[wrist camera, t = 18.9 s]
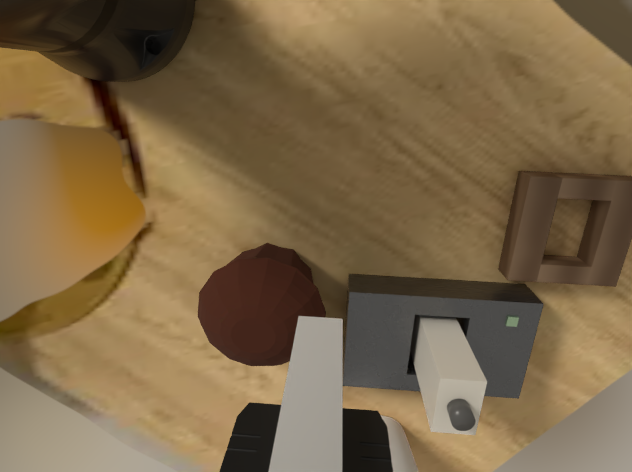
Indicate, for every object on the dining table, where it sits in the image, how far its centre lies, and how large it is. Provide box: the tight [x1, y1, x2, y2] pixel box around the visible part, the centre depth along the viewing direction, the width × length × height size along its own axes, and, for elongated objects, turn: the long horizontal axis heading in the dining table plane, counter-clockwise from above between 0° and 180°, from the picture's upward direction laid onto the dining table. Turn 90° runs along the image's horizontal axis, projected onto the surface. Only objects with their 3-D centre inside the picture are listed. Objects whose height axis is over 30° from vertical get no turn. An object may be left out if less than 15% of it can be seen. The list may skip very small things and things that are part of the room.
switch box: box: [343, 274, 543, 398], centre depth 41 cm, size 18×11×4 cm, turn 88°
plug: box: [410, 315, 487, 435], centre depth 37 cm, size 4×5×14 cm, turn 178°
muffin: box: [198, 243, 326, 366], centre depth 38 cm, size 12×11×10 cm
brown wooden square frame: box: [498, 171, 632, 287], centre depth 38 cm, size 10×10×2 cm
